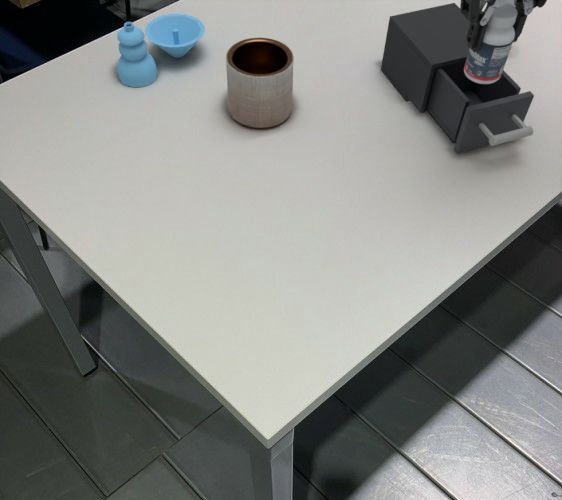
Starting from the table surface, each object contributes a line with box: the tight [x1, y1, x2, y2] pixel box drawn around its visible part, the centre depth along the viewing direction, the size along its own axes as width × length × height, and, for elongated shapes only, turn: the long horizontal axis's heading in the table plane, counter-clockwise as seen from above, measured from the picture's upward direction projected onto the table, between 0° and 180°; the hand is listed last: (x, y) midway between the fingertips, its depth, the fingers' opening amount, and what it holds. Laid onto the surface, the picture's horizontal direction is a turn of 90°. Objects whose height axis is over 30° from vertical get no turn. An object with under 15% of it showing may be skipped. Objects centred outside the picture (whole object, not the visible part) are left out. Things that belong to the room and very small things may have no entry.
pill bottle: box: [464, 3, 517, 84], centre depth 84 cm, size 5×5×9 cm
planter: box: [225, 37, 295, 129], centre depth 102 cm, size 11×11×10 cm
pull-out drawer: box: [425, 61, 535, 155], centre depth 100 cm, size 18×11×8 cm, turn 22°
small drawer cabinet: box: [380, 2, 470, 114], centre depth 106 cm, size 15×13×10 cm
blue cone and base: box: [116, 13, 206, 88], centre depth 108 cm, size 18×10×9 cm, turn 136°
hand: (491, 43), depth 84 cm, fingers closed on pill bottle, 5 cm apart
